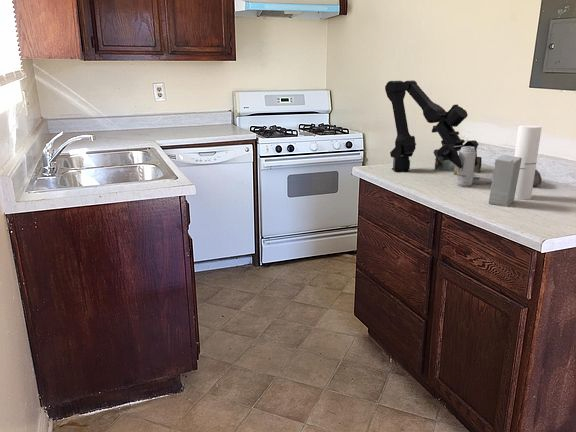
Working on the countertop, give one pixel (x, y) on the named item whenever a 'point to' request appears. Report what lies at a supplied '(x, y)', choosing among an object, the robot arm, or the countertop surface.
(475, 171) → the beverage carton
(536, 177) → the perforated stone tool
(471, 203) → the countertop surface
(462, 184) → the energy drink can
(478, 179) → the coaster
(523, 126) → the cylindrical container
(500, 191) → the skincare box
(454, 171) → the walnut block
